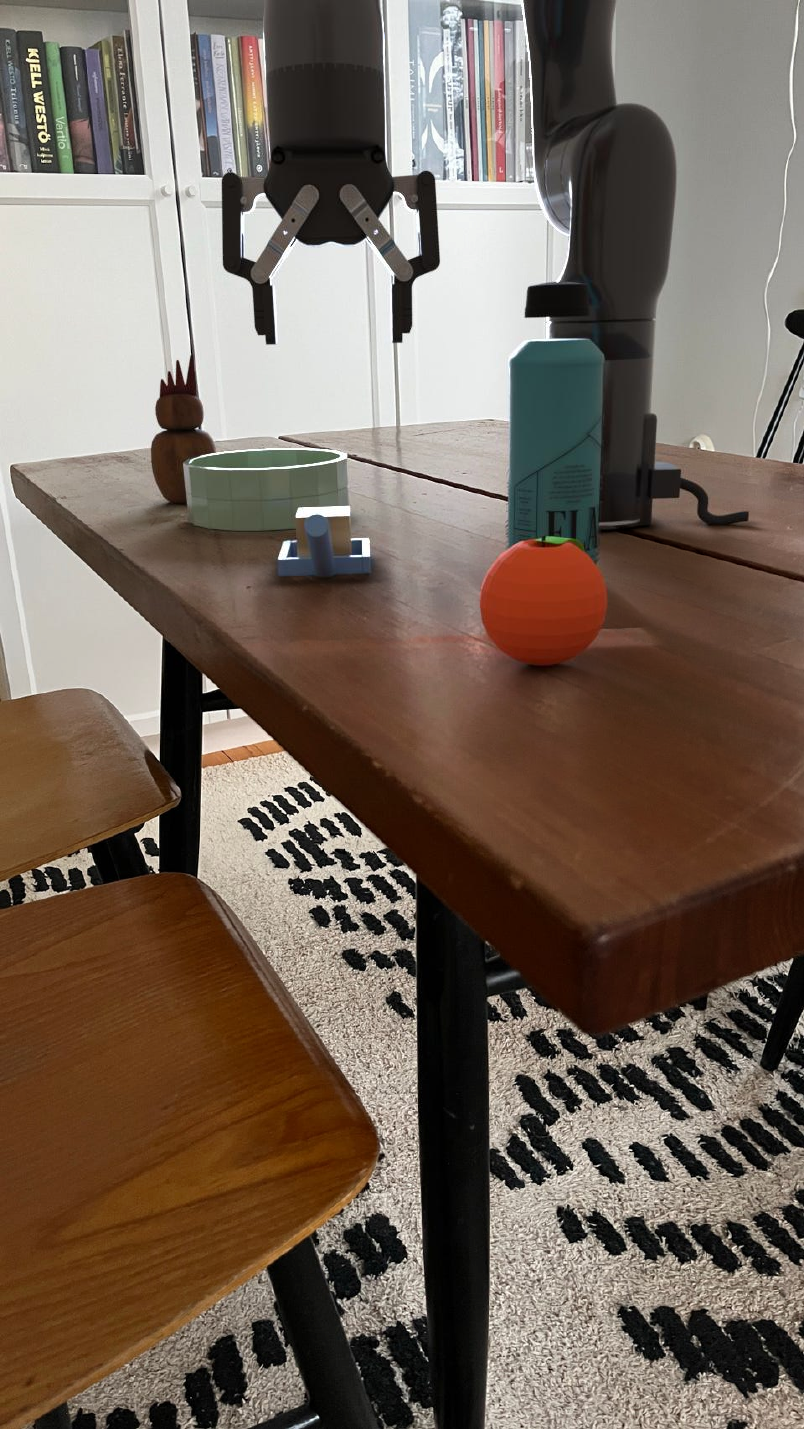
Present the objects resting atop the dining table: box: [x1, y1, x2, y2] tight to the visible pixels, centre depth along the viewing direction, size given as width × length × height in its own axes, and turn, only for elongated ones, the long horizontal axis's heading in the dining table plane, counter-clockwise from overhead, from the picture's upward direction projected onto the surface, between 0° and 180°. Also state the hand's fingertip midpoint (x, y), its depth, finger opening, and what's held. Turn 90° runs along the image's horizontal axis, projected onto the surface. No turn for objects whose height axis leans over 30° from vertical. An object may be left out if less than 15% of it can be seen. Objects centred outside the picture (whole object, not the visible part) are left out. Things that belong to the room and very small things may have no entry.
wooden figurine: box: [150, 354, 217, 505], centre depth 112 cm, size 7×6×15 cm
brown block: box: [295, 505, 353, 557], centre depth 80 cm, size 4×4×4 cm
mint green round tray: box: [183, 447, 350, 532], centre depth 100 cm, size 15×15×6 cm
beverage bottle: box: [505, 281, 605, 566], centre depth 71 cm, size 6×7×20 cm
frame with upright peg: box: [277, 514, 372, 579], centre depth 76 cm, size 16×7×6 cm, turn 2°
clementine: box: [478, 535, 609, 667], centre depth 58 cm, size 8×7×7 cm
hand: (334, 343), depth 72 cm, fingers open, 8 cm apart
